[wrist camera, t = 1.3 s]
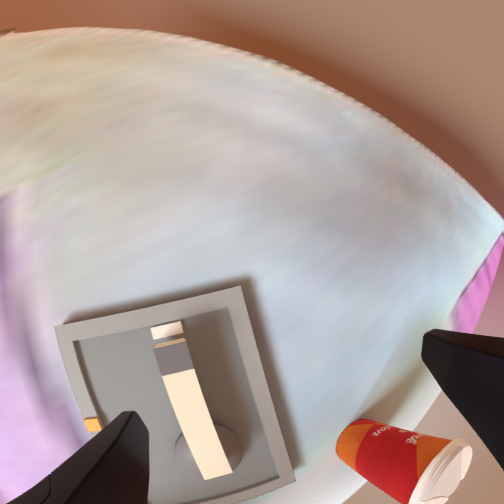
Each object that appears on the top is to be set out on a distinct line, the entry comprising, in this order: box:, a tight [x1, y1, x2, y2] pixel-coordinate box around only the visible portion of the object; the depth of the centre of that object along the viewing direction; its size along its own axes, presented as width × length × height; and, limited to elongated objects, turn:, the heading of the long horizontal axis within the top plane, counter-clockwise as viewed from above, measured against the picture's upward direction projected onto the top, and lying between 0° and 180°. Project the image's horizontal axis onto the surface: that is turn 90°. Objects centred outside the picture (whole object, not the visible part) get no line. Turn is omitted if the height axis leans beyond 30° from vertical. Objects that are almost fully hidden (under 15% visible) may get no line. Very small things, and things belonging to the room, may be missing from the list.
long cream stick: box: [153, 338, 243, 480], centre depth 18 cm, size 14×6×4 cm, turn 15°
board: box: [54, 286, 296, 504], centre depth 20 cm, size 22×17×2 cm
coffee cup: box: [336, 419, 472, 504], centre depth 18 cm, size 8×8×15 cm
